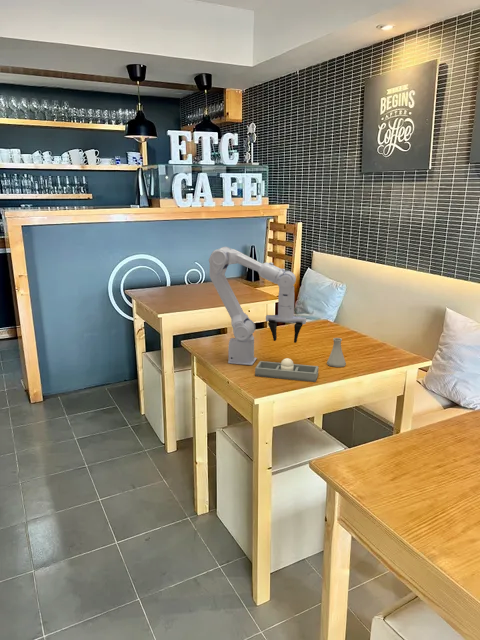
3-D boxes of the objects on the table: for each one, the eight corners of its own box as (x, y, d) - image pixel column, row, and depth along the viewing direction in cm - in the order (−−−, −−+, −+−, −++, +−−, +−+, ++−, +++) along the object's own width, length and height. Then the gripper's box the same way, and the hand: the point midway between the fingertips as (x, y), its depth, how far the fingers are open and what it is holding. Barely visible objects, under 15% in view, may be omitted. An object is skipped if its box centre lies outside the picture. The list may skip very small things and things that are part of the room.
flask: (344, 361, 188) (346, 336, 185) (347, 368, 181) (348, 342, 178) (325, 360, 188) (326, 335, 186) (327, 367, 181) (328, 341, 179)
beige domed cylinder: (279, 374, 172) (280, 360, 170) (281, 370, 176) (282, 356, 175) (292, 375, 171) (292, 361, 169) (294, 371, 175) (294, 357, 174)
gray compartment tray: (255, 376, 173) (255, 368, 172) (259, 368, 180) (259, 361, 179) (315, 382, 167) (316, 373, 167) (318, 374, 174) (318, 366, 174)
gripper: (307, 304, 180) (306, 339, 183) (269, 301, 183) (268, 336, 187) (304, 308, 173) (303, 345, 176) (264, 305, 177) (264, 341, 180)
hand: (285, 341), depth 181 cm, fingers open, 7 cm apart
